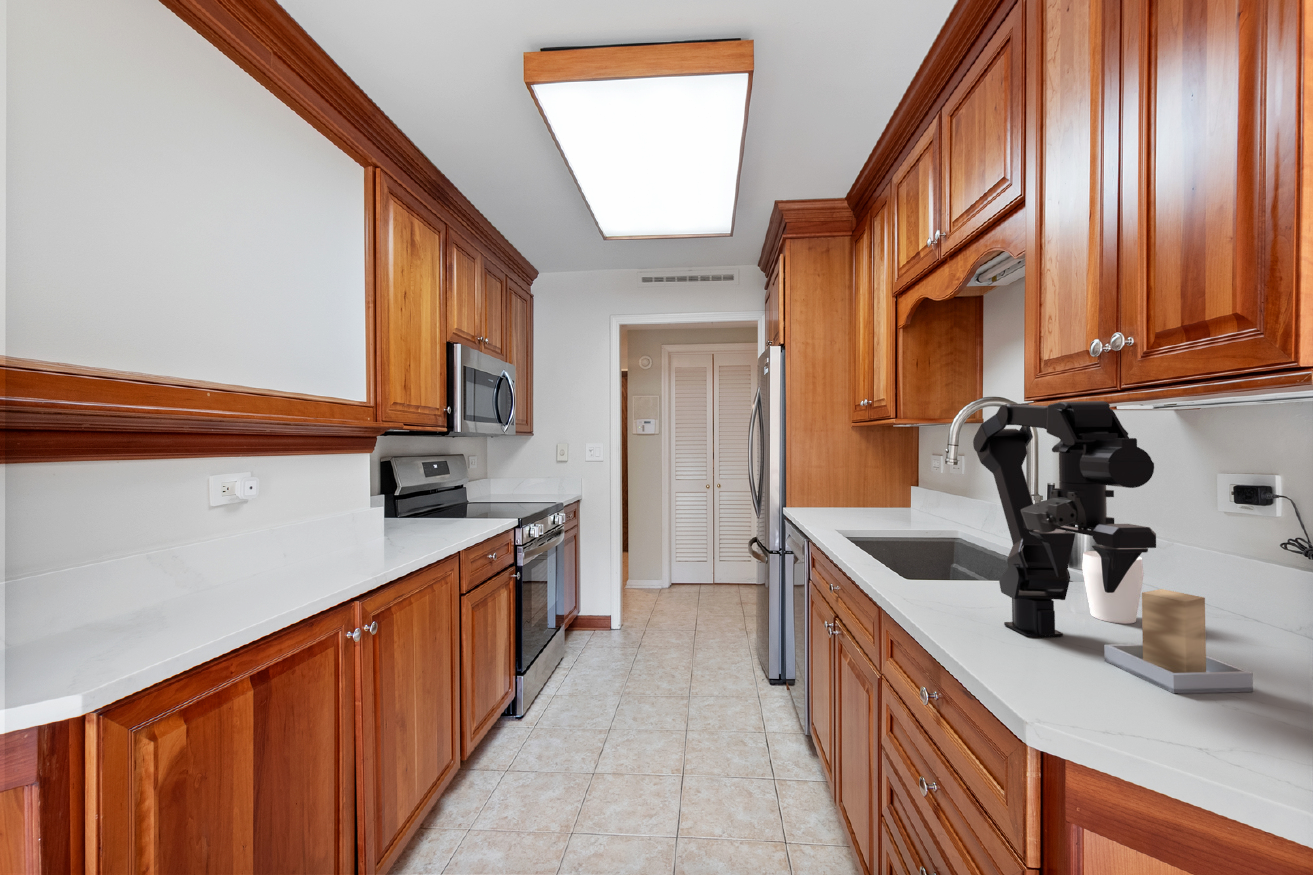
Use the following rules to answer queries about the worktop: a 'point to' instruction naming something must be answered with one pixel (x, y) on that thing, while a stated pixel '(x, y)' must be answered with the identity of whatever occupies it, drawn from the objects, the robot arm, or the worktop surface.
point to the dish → (1211, 681)
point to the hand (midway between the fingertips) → (1083, 584)
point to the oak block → (1174, 631)
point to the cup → (1115, 604)
